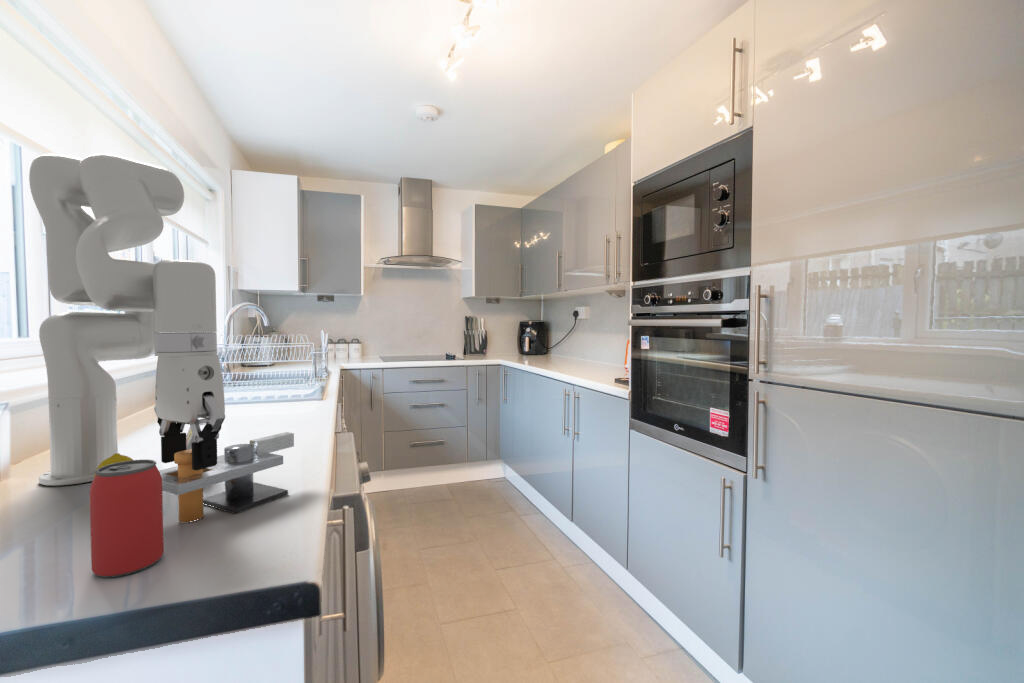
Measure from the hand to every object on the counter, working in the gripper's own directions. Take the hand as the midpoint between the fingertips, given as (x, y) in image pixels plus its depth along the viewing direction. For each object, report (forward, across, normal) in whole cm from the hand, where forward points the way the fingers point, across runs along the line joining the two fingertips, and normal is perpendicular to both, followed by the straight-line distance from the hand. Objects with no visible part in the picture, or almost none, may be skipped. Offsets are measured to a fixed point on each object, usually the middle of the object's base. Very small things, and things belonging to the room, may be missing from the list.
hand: (189, 463), depth 68 cm
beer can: (+8, -8, +11) cm, 16 cm away
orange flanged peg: (+8, 0, 0) cm, 8 cm away
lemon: (+8, +18, +2) cm, 20 cm away
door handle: (+8, 0, -6) cm, 11 cm away
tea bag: (+9, +20, -12) cm, 25 cm away
